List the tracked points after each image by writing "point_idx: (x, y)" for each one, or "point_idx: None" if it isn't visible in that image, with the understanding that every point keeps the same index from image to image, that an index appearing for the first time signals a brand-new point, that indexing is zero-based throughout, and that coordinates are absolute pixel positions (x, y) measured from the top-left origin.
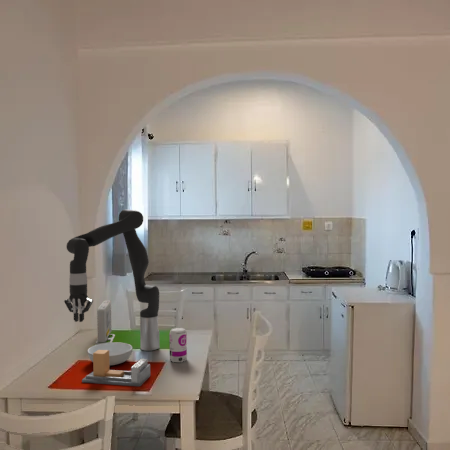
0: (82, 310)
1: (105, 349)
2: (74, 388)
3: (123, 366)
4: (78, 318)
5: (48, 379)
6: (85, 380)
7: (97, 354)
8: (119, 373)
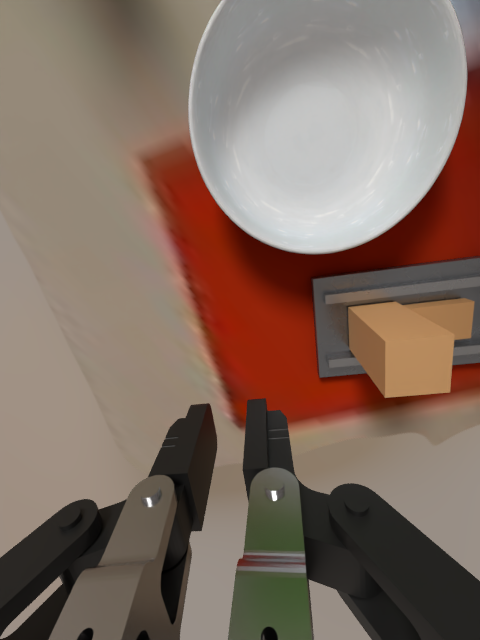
0: (307, 574)
1: (235, 40)
2: (323, 417)
3: None
4: (205, 417)
5: (191, 380)
6: (333, 375)
7: (408, 393)
8: (464, 331)
